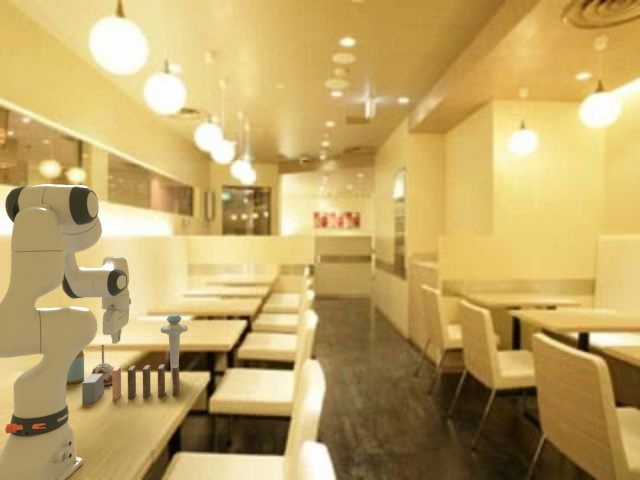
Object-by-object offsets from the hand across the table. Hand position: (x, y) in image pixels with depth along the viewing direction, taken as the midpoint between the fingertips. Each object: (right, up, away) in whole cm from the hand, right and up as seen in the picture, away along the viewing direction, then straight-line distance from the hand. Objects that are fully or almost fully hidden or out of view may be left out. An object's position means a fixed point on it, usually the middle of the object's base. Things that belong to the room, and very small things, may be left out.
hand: (116, 342), depth 167 cm
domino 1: (0, -19, 0) cm, 19 cm away
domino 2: (+5, -19, +1) cm, 20 cm away
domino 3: (+10, -19, +2) cm, 22 cm away
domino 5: (+20, -19, +3) cm, 28 cm away
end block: (-8, -19, -1) cm, 21 cm away
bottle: (-24, -19, +18) cm, 35 cm away
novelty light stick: (+14, -19, +21) cm, 31 cm away
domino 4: (+15, -19, +3) cm, 24 cm away
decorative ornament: (-11, -19, +15) cm, 27 cm away
